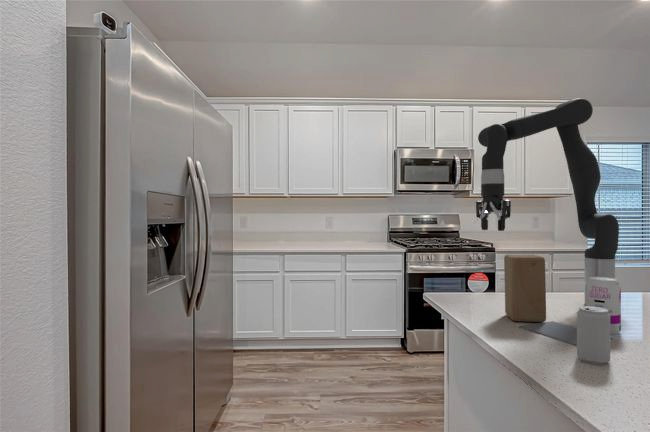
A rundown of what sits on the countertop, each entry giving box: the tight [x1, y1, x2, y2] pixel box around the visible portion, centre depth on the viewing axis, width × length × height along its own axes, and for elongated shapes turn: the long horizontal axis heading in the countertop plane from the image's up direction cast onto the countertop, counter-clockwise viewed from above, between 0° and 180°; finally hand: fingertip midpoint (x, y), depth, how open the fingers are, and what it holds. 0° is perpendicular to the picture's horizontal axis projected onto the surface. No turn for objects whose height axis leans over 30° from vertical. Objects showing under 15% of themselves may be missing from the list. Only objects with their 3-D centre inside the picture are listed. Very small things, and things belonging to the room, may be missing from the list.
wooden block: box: [503, 254, 547, 323], centre depth 129 cm, size 10×10×20 cm
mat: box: [518, 320, 614, 346], centre depth 114 cm, size 14×18×1 cm
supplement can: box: [585, 277, 622, 336], centre depth 116 cm, size 8×8×15 cm
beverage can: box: [576, 305, 611, 365], centre depth 93 cm, size 6×6×12 cm
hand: (492, 230), depth 142 cm, fingers open, 7 cm apart
